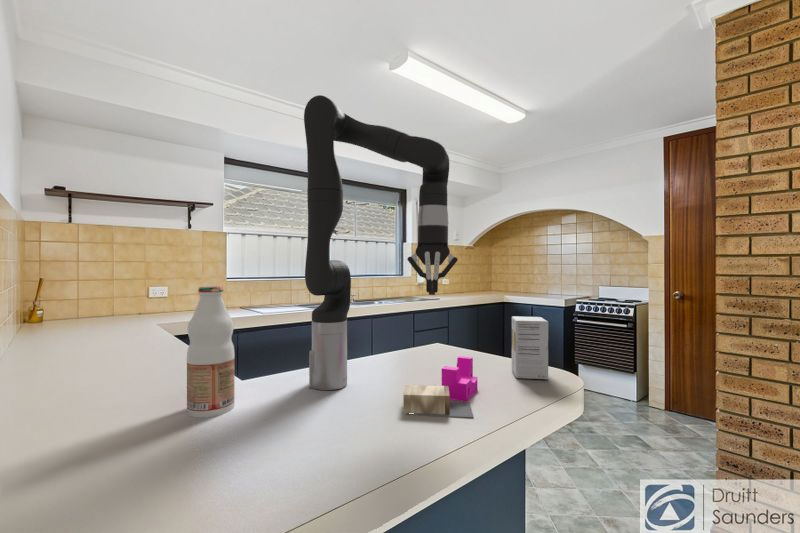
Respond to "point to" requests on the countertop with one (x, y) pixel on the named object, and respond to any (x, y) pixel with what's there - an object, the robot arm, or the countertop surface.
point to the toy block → (460, 379)
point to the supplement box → (530, 347)
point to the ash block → (426, 399)
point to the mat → (454, 411)
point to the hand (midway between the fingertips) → (432, 294)
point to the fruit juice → (210, 357)
